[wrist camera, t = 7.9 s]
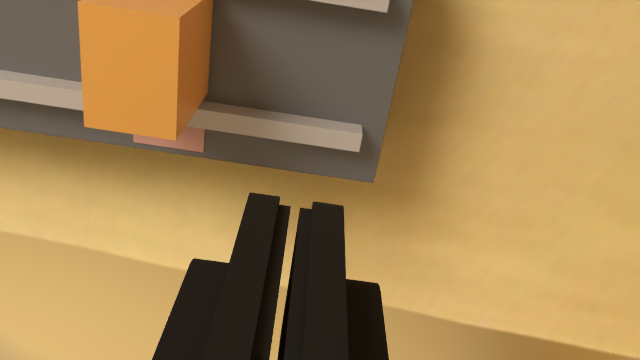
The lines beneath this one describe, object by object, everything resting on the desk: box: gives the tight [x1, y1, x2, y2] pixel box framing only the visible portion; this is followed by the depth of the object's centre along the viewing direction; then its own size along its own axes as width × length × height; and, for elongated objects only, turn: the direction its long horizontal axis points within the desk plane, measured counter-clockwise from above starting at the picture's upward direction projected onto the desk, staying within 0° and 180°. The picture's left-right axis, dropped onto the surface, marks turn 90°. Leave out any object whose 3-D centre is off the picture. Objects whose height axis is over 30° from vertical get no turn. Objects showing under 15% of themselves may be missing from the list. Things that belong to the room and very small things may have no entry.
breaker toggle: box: [78, 0, 213, 141], centre depth 19 cm, size 3×4×5 cm
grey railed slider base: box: [0, 0, 414, 183], centre depth 23 cm, size 30×10×5 cm, turn 81°
